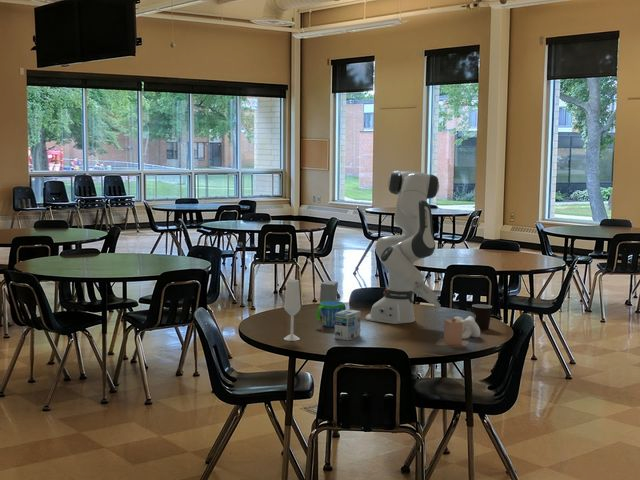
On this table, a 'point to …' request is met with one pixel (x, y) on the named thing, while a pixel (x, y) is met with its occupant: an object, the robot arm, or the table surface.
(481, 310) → the coffee mug
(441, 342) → the board
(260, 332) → the table surface
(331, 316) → the snack cup
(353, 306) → the table surface
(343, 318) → the light bulb box
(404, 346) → the table surface
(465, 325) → the white lumpy piece
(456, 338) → the pink juice box
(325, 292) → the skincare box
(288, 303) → the champagne flute
